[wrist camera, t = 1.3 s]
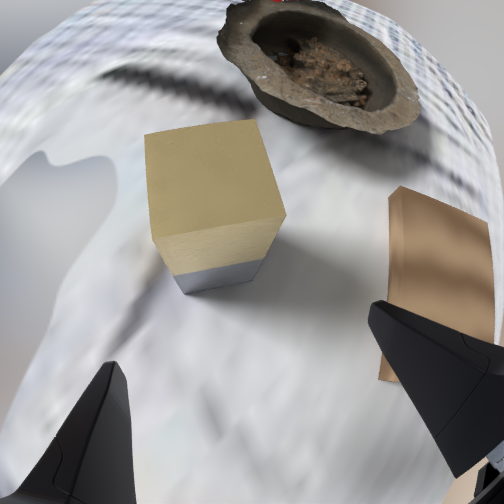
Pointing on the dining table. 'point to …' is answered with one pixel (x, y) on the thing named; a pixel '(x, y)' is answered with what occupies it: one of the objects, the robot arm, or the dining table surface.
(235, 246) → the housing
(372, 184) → the dining table surface
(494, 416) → the robot arm
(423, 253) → the walnut stand
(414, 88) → the stone bowl
